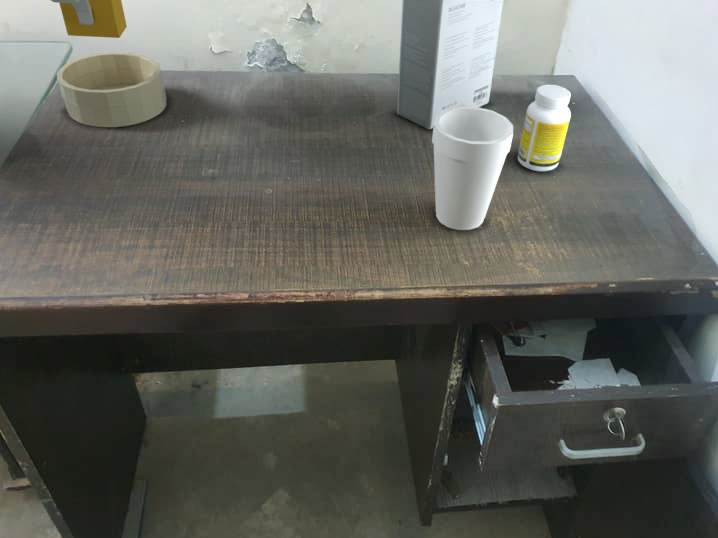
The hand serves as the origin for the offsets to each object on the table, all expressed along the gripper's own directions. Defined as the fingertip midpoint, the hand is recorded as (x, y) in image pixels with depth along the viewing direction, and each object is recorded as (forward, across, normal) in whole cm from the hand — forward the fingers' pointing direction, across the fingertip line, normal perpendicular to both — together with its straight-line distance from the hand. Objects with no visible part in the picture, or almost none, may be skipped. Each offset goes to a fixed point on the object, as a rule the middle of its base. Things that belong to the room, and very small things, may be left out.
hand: (93, 15), depth 90 cm
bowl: (+14, 0, 0) cm, 14 cm away
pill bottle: (+13, +16, +64) cm, 67 cm away
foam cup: (+13, +30, +50) cm, 60 cm away
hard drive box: (+13, -1, +52) cm, 54 cm away
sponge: (+2, 0, 0) cm, 2 cm away
